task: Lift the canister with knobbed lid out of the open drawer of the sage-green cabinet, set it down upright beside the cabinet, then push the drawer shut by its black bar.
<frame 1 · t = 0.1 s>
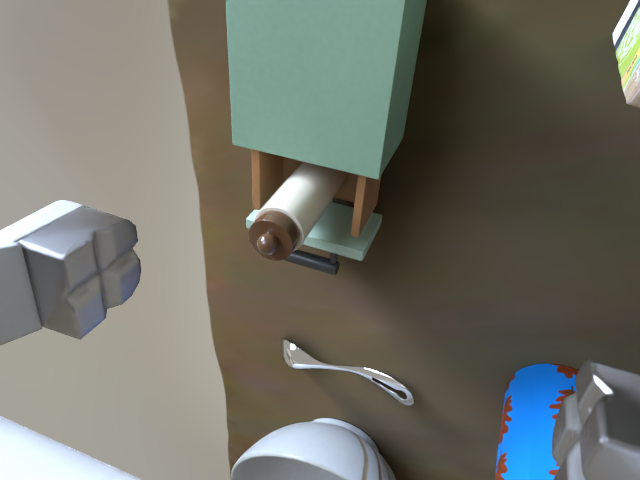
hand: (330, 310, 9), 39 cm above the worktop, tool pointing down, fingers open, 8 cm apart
drawer: (317, 188, 50), point 4 cm above the worktop, slide at 8.5 cm, touching canister with knobbed lid
canister with knobbed lid: (326, 169, 52), point 2 cm above the worktop, touching drawer
silver spoon: (347, 363, 71), on the worktop
decorative bowl: (342, 442, 82), on the worktop
thermos: (554, 394, 60), on the worktop
cabinet: (342, 48, 46), on the worktop
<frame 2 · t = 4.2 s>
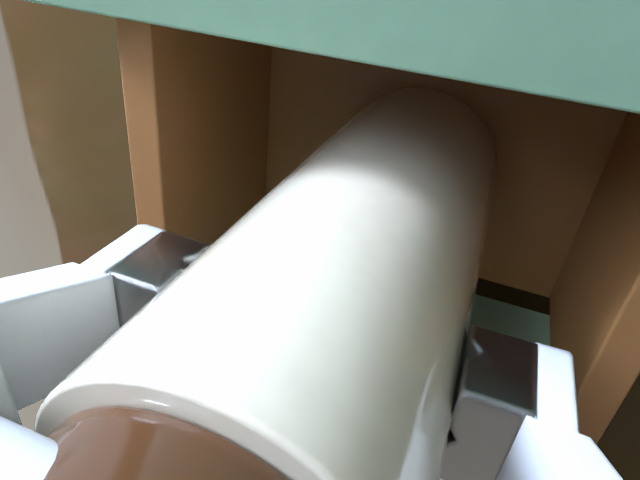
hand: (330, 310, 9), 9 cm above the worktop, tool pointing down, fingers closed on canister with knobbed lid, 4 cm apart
drawer: (390, 233, 14), point 4 cm above the worktop, slide at 8.5 cm, touching canister with knobbed lid
canister with knobbed lid: (414, 167, 15), point 2 cm above the worktop, touching drawer, gripper
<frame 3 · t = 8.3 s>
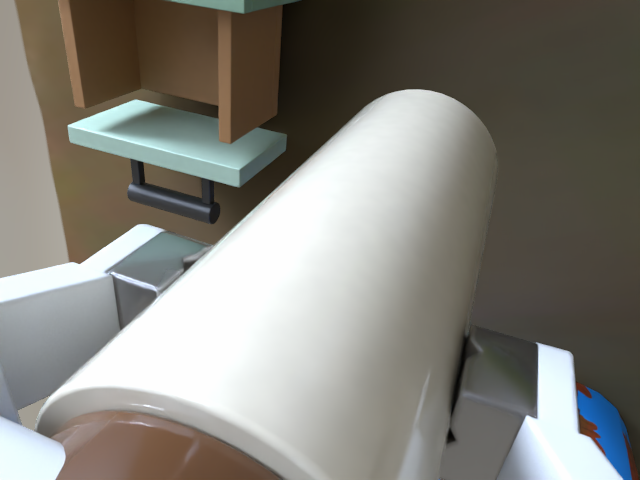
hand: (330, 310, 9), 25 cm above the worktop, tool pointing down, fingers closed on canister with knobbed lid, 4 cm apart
drawer: (178, 78, 32), point 4 cm above the worktop, slide at 8.5 cm
canister with knobbed lid: (414, 169, 15), point 18 cm above the worktop, touching gripper
thermos: (549, 425, 40), on the worktop
when the fingers open (7 cm above the worktop, at t = 12.6 s): canister with knobbed lid stays where it is, on the worktop.
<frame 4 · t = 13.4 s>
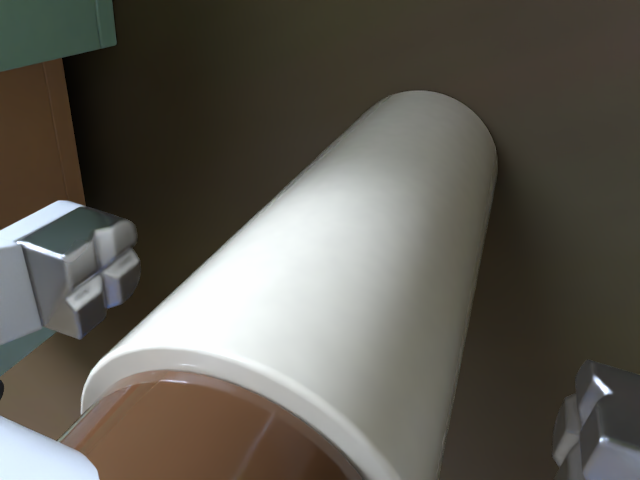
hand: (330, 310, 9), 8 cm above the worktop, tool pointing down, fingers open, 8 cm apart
canister with knobbed lid: (418, 166, 16), on the worktop
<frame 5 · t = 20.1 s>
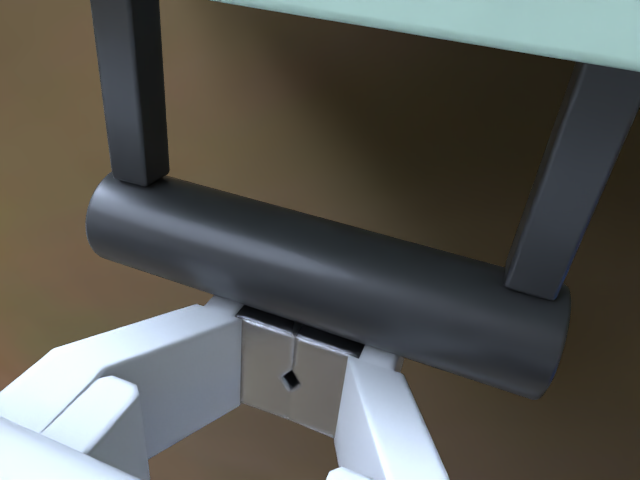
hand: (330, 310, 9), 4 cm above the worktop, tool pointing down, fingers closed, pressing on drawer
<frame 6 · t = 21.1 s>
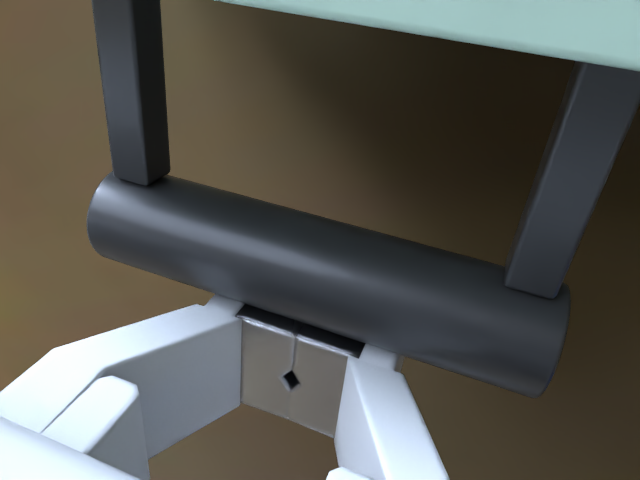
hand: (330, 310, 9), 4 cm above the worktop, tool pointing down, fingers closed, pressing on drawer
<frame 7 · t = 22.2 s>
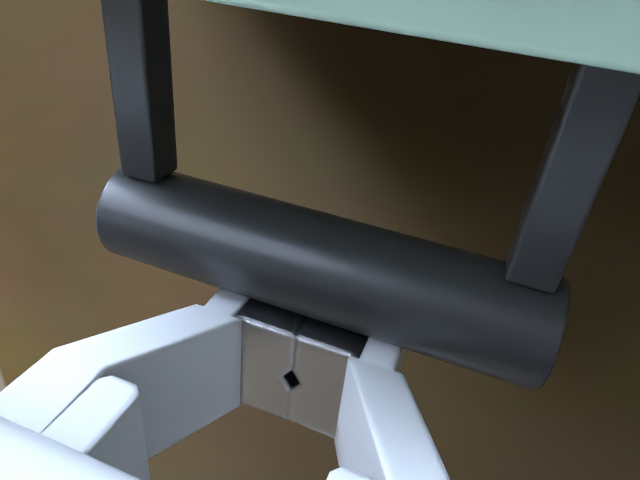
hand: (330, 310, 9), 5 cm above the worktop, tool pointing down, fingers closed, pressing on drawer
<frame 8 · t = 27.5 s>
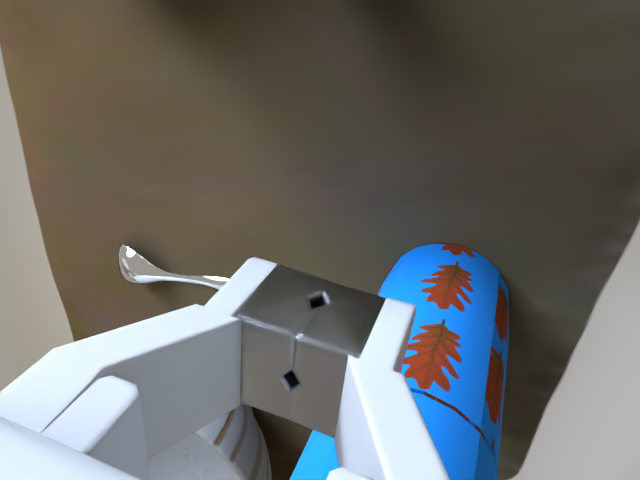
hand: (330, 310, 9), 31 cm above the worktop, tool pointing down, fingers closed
silver spoon: (200, 275, 55), on the worktop
decorative bowl: (211, 400, 65), on the worktop
thermos: (446, 294, 45), on the worktop
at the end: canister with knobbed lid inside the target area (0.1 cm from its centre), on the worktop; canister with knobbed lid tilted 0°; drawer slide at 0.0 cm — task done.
